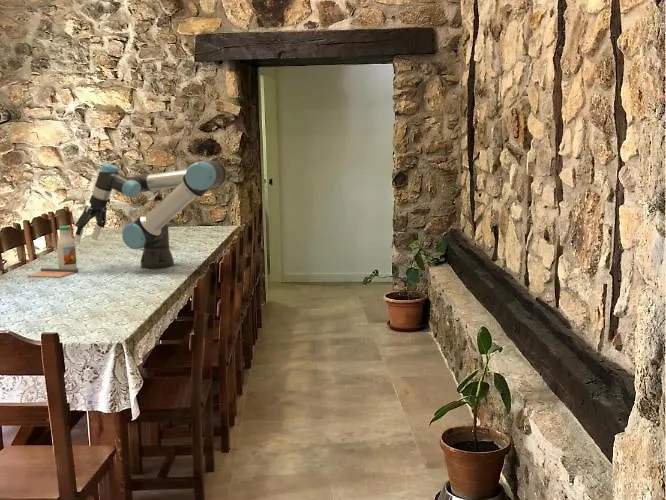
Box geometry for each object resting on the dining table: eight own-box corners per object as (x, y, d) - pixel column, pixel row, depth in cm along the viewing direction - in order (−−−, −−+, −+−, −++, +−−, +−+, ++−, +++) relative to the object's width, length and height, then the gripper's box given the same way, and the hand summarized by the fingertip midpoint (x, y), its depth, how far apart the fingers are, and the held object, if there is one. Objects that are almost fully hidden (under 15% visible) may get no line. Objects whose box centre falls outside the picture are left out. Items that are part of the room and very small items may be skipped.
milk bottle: (57, 271, 308) (54, 227, 305) (59, 268, 316) (56, 225, 312) (76, 270, 310) (72, 226, 307) (77, 267, 318) (74, 224, 314)
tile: (73, 273, 303) (73, 272, 303) (60, 277, 294) (60, 276, 294) (41, 272, 307) (41, 271, 307) (27, 276, 297) (27, 275, 297)
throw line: (78, 272, 305) (78, 269, 305) (76, 273, 304) (76, 269, 304) (42, 271, 309) (42, 268, 309) (40, 272, 308) (40, 268, 308)
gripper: (108, 193, 319) (94, 234, 323) (76, 194, 295) (61, 239, 299) (122, 199, 317) (107, 241, 321) (90, 201, 293) (75, 246, 297)
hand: (85, 240), depth 310 cm, fingers open, 13 cm apart
